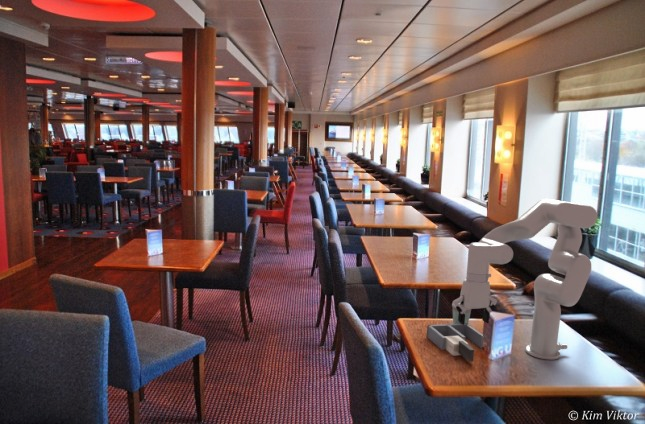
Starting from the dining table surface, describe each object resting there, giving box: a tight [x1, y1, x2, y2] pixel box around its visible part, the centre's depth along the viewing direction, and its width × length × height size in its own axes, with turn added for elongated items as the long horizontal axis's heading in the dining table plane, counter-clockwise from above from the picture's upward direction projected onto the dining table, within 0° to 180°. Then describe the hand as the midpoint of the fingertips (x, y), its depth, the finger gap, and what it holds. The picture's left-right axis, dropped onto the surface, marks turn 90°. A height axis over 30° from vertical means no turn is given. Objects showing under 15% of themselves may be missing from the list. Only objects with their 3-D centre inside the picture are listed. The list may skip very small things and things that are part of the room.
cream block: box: [444, 336, 475, 363], centre depth 201 cm, size 6×16×6 cm, turn 14°
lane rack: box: [426, 323, 485, 351], centre depth 214 cm, size 18×14×5 cm
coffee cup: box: [451, 302, 472, 325], centre depth 229 cm, size 8×9×12 cm
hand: (473, 322), depth 193 cm, fingers open, 9 cm apart
